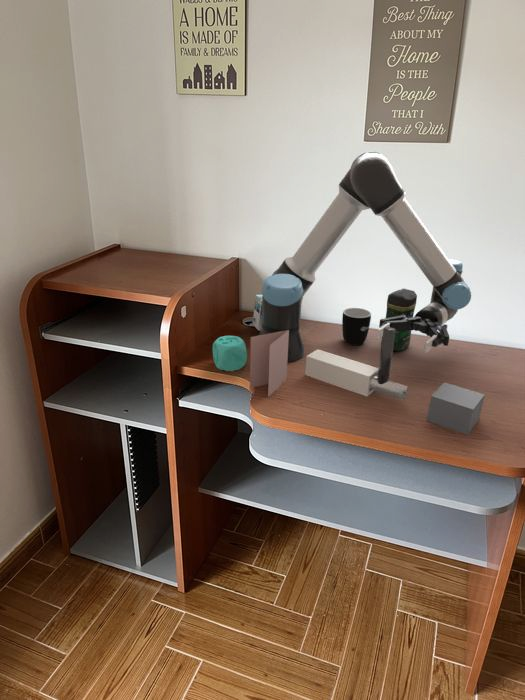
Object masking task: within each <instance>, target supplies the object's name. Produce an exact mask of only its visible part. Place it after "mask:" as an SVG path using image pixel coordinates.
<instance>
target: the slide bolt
mask: <svg viewBox="0 0 525 700" xmlns="http://www.w3.org/2000/svg"><path fill="white" fill-rule="evenodd" d="M395 331H396V330H395V329H394V328H391V327H386V328H384V329H383V337H381V340H382V345H381V344H380V352H379V360H378V367H377V368H378V376H373V377H372V378H371V380H370V389H373V390H374V391H376V392H379V393H383V394H386V395H388V396H391V397H394V398H397V399H400V400H405V399H406V397H407V396H408V393H409V386H407V385H404V384H401V383H397V382H395V381H392V380H390V375H391V367H392V366H391V365H392V359H393V351H394V350H393V346H394V338H395Z"/></svg>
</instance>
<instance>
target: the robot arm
mask: <svg viewBox="0 0 525 700" xmlns="http://www.w3.org/2000/svg"><path fill="white" fill-rule="evenodd" d="M366 210H371V211H372V213H373V214H374V215H375V216H378V217H381V218H382V220H383V221H384V222H385V224H387V226H388V227H389V229H390V230H391V231H392V233H393V235H394V236H395V237H396V238H397V240H398V241H399V243H400V244H401V246H402V247H403V248H404V249H405V250H406V252H407V253H408V254H409V256H410V257H411V258H412V260H413V261H414V262H415V264H416V265H417V267H418V268H419V269H420V270H421V272H422V273H423V275H424V276H425V277H426V279H427V280H428V282H429V283H430V284H431V285H432V292H431V297H430V303H428V305H426V306H424V307H423V308H421V309H420V310H419V311H417V313H416V314H415V315H413V317H412V318H406V315H405V314H402V315H400V316H396V317H390V318H386V317H385V318H381V319H379V325H378V329H377V334H376V339H378V340H380V339H382V337H383V329H384V328H386V327H391V328H394V329H395V330H402V329H406V330H407V331H411V332H412V331H415V332H420V333H421V334H425V335H427V337H429V339H428V340H426V341H425V343H424V350H423V353H428V352H429V351H430V350H432V348H437V347H438V346H439V345H441V344H443V346H446V347H447V346H449V344H450V343H449V342H450V334H449V332H448V326H449V325H448V324H447V322H448V321H450V320H451V319H453V318H454V317H455V315H457V313H458V311H459V310H462V309H463V308H465V307H466V306H468V304H469V303H470V302H471V299H472V292H471V287H469V286H468V284H467V283H466V282H465V280H464V278H463V277H462V273H463V263H462V262H461V261H460V260H457V259H452V258H448V256H447V255H446V254H445V252H444V251H443V249H442V248H441V247H440V246H439V244H438V243H437V241H436V240H435V239H434V236H433V235H432V234H431V233H430V231H429V230H428V229H427V228H426V226H425V224H424V223H423V222H422V220H421V219H420V217H419V216H418V215H417V213H416V212H415V210H414V209H413V207H412V206H411V205H410V203H409V202H408V200H407V199H406V190H405V189H403V187H402V184H401V183H400V182H399V180H398V178H397V176H396V173H395V171H394V167H393V166H392V165H391V162H390V161H389V159H388V158H387V157H386V156H385V155H384V154H382V153H380V152H377V151H366V152H364V153H362V154H360V155H358V156H357V157H356V158H355V159H353V162H352V163H351V166H350V168H349V170H348V171H347V172H346V174H345V175H344V177H343V178H342V179H341V181H340V182H339V184H338V194H337V195H336V196H335V198H334V199H333V201H332V202H331V204H330V205H329V206H328V207H327V209H326V210H325V212H324V213H323V214H322V216H321V217H320V218H319V220H318V222H316V224H315V225H314V227H313V228H312V230H311V231H310V232H309V234H308V235H307V236H306V238H305V239H304V241H303V242H301V243H302V244H301V245H300V246H299V248H297V250H296V251H295V253H294V254H293V255H292V256H291V257H290V256H289V257H285V258H284V260H283V262H282V263H281V264H280V266H278V268H277V269H276V270H275V271H274V272H273V273H272V274H271V275H269V276H268V277H266V278H265V279H264V281H263V283H262V288H261V295H263V297H262V328H261V331H259V334H258V336H259V335H264V334H270V333H275V332H281V331H286V330H289V340H288V360H287V363H290V362H295V361H298V360H300V359H301V358H303V357H304V354H305V344H304V341H303V338H302V337H303V336H302V334H301V315H302V303H303V299H304V296H305V295H306V293H307V292H308V291H309V289H310V288H311V286H312V285H313V284H314V283H315V281H316V272H317V271H318V269H319V268H320V267H321V265H322V264H323V263H324V262H325V260H326V259H327V257H328V256H329V255H330V253H332V251H333V250H334V249H335V247H336V246H337V244H338V243H339V242H340V240H341V239H342V238H343V237H344V235H345V234H346V233H347V231H348V230H349V229H350V227H351V226H352V224H353V223H354V222H355V221H356V219H357V218H358V217H359V215H360V214H361V213H362V212H363V211H366ZM410 326H411V327H410Z"/></svg>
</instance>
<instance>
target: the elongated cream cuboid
mask: <svg viewBox="0 0 525 700" xmlns="http://www.w3.org/2000/svg"><path fill="white" fill-rule="evenodd" d="M305 359H306V360H305V373H304V375H305V376H306V375H307V376H306V377H309V376H310V378H313V379H315V380H319V381H320V382H324V383H327V384H329V385H332V386H336V387H338V388H340V389H341V388H342V389H344V390H347V391H350V392H353V393H355V394H359V395H360V396H361V395H362V396H364V397H369V396H370V395H371V394H372V393H373V392H375V390H373V389H370V380H371V378H372V377H373V376H378V368H379V367H376V366H374V365H373V366H372V365H370V364H366V363H363V362H359V361H357V360H353V359H350V358H347V357H343V356H341V355H337V354H334V353H331V352H328V351H324V350H322V349H318V348H317V349H316V350H313V352H311V353H309V354H307V355H306V358H305Z"/></svg>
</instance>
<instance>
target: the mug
mask: <svg viewBox="0 0 525 700" xmlns="http://www.w3.org/2000/svg"><path fill="white" fill-rule="evenodd" d="M341 318H342V319H341V321H342V324H341V326H342V327H341V328H342V329H341V330H342V338H343V341H344V342H345V343H346V344H348V345H350V346H361V345H363V344H364V343H365V341H366V339H367V337H368V333H369V330H370V326H371V325H370V324H371V320H372V313H371V311H369V310H368V309H365V308H360V307H349V308H345V309H344V310H343V311H342V317H341Z"/></svg>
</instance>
